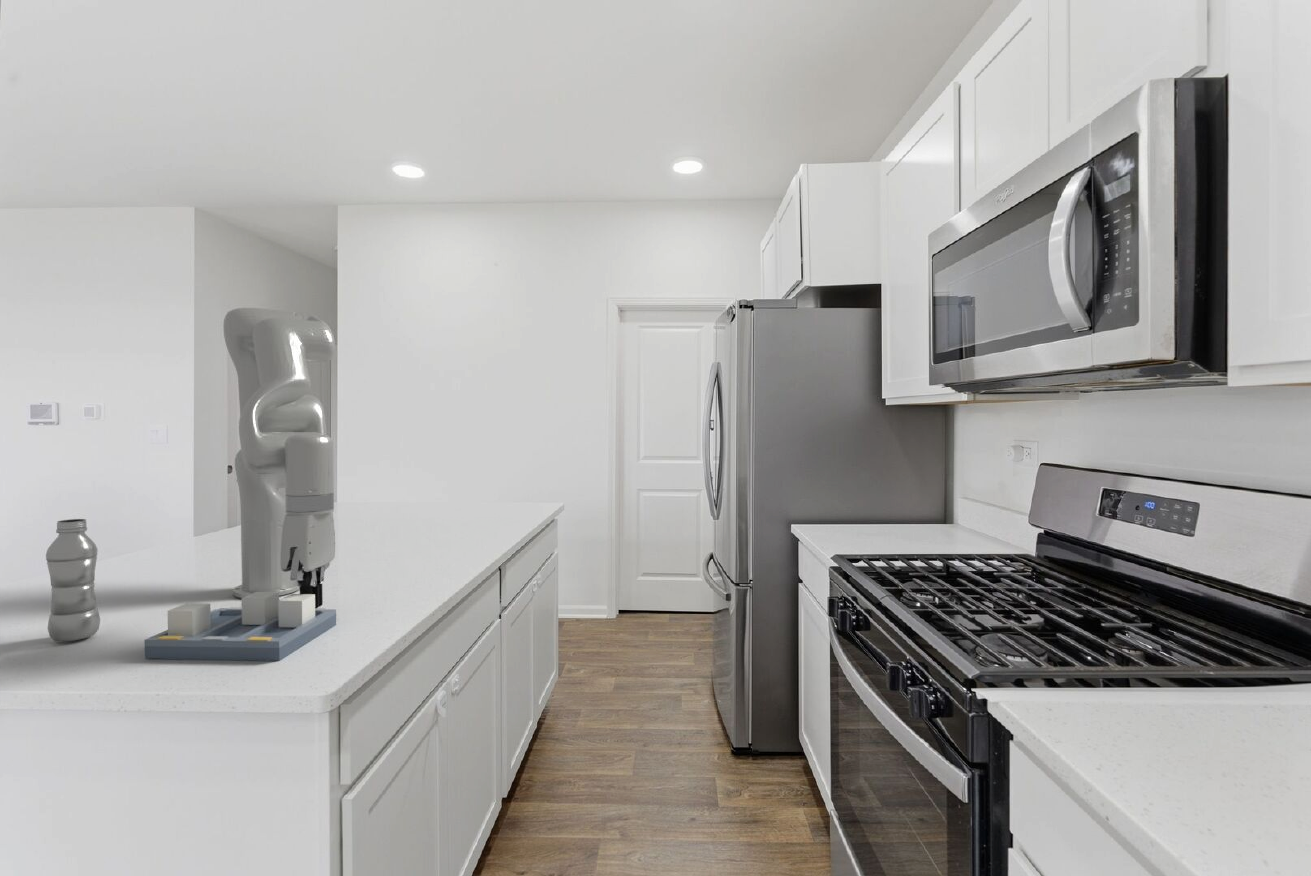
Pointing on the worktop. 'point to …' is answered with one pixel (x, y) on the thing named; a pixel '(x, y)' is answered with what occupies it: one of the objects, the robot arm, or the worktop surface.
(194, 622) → the tab
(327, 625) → the switch bank
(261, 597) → the tab
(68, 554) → the plastic bottle
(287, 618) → the tab
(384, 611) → the worktop surface
